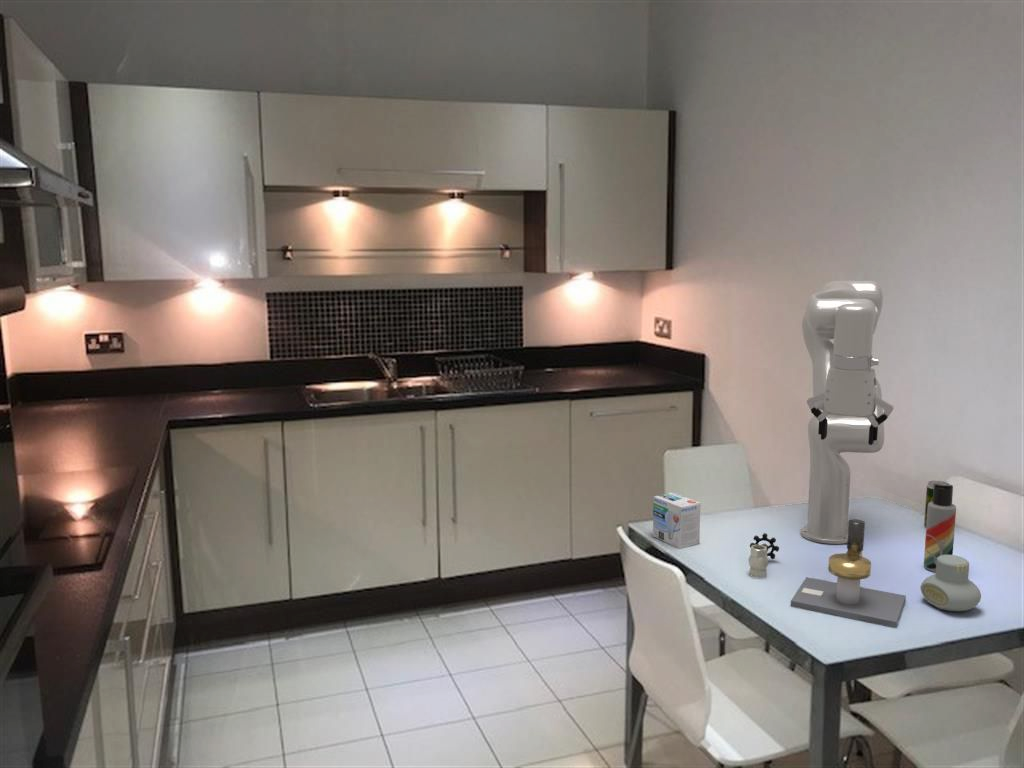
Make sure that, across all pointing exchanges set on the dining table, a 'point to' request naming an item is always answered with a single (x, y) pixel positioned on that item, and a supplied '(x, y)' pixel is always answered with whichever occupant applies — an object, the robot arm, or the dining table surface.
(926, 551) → the lotion bottle
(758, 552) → the valve
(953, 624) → the dining table surface
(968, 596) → the air freshener
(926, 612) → the dining table surface
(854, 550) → the brass knob with handle
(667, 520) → the light bulb box
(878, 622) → the post base
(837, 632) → the dining table surface
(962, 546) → the dining table surface
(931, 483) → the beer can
